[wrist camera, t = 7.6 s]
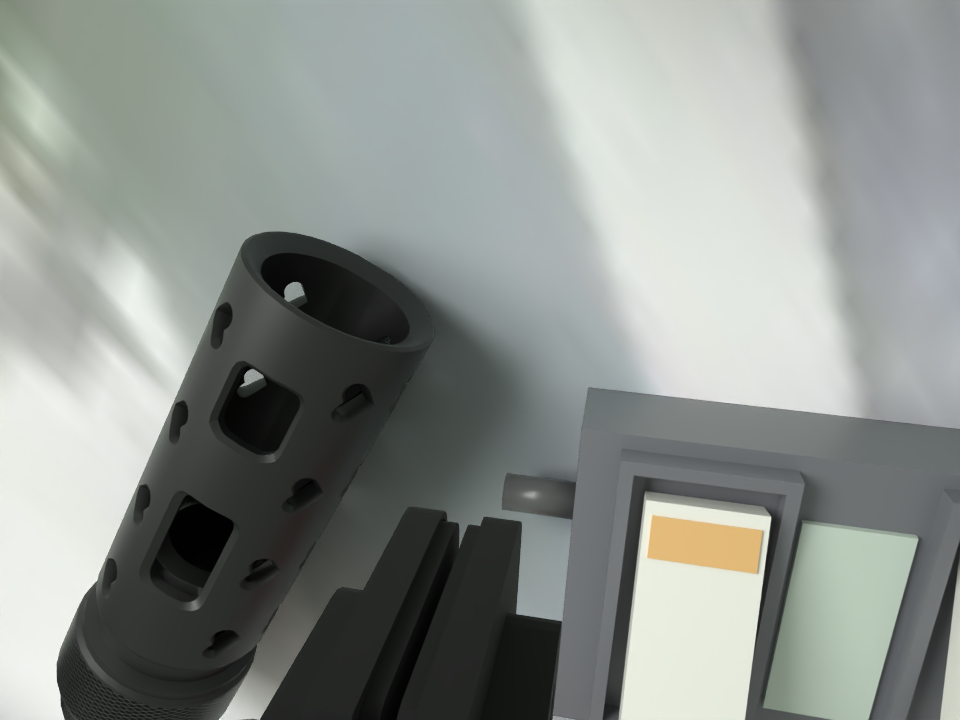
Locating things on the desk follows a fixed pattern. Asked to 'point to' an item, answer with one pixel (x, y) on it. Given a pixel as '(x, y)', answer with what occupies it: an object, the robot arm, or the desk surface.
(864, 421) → the panel
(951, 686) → the rocker
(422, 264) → the desk surface
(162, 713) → the muzzle brake
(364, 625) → the robot arm
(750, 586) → the plate
